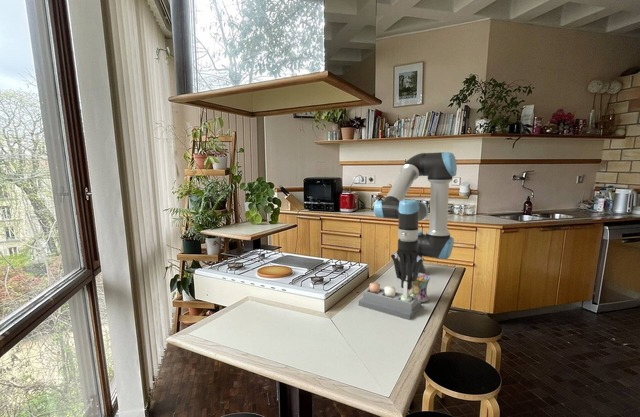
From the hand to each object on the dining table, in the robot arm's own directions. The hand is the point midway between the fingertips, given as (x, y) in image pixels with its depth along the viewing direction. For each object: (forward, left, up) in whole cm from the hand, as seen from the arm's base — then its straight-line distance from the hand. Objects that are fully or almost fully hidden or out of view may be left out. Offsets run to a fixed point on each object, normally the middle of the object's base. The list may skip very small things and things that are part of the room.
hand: (406, 296), depth 124 cm
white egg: (0, -7, -2) cm, 7 cm away
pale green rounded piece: (0, 0, -4) cm, 4 cm away
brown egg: (0, -14, -2) cm, 14 cm away
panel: (0, -7, -6) cm, 9 cm away
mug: (-13, -1, -6) cm, 15 cm away
